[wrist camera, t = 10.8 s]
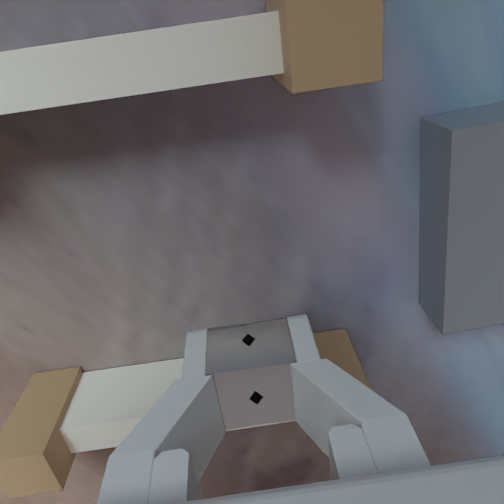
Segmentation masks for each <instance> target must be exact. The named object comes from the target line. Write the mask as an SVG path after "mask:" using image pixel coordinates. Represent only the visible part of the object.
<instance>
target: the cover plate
mask: <svg viewBox="0 0 504 504" xmlns="http://www.w3.org/2000/svg"><path fill="white" fill-rule="evenodd" d="M419 303H420V304H421V306H422V307H423V308H424V310H425V311H426V312H427V314H428V315H429V317H430V318H431V319H432V321H433V322H434V323H435V325H436V326H437V327H438V329H439V330H440V331H441V333H442V334H449V333H454V332H460V331H465V330H471V329H476V328H482V327H487V326H493V325H498V324H504V101H503V102H498V103H493V104H488V105H483V106H478V107H472V108H467V109H462V110H457V111H452V112H447V113H442V114H437V115H432V116H427V117H421V128H420V233H419Z"/></svg>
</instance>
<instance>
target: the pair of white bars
mask: <svg viewBox="0 0 504 504" xmlns="http://www.w3.org/2000/svg"><path fill="white" fill-rule="evenodd" d="M383 4H384V0H268V1H267V2H266V3H265V5H266V12H265V13H258V14H252V15H245V16H238V17H231V18H225V19H218V20H211V21H204V22H198V23H191V24H184V25H177V26H171V27H164V28H157V29H150V30H144V31H137V32H130V33H123V34H117V35H110V36H103V37H96V38H90V39H83V40H76V41H69V42H63V43H56V44H49V45H42V46H36V47H29V48H22V49H15V50H9V51H2V52H0V115H3V114H10V113H17V112H24V111H30V110H37V109H44V108H51V107H58V106H64V105H71V104H78V103H85V102H92V101H98V100H105V99H112V98H119V97H125V96H132V95H139V94H146V93H153V92H159V91H166V90H173V89H180V88H186V87H193V86H200V85H207V84H214V83H220V82H227V81H234V80H241V79H248V78H254V77H261V76H268V75H273V78H274V79H275V80H276V81H278V82H279V83H280V84H281V85H283V86H284V87H285V88H286V89H288V90H289V91H290V92H291V93H292V94H294V93H301V92H308V91H315V90H321V89H328V88H335V87H342V86H349V85H355V84H362V83H369V82H376V81H382V75H383ZM313 335H314V339H315V342H316V345H317V348H318V351H319V355H320V358H321V359H328V360H330V361H331V362H333V363H334V364H336V365H337V366H338V367H340V368H341V369H343V370H344V371H345V372H347V373H348V374H350V375H351V376H353V377H354V378H355V379H357V380H358V381H360V382H361V383H362V384H364V385H365V386H367V387H368V388H369V389H371V388H370V386H369V384H368V381H367V379H366V376H365V374H364V372H363V369H362V367H361V365H360V362H359V360H358V357H357V355H356V353H355V350H354V348H353V345H352V343H351V341H350V338H349V336H348V334H347V331H346V329H338V330H331V331H324V332H317V333H313ZM183 362H184V358H180V359H173V360H166V361H159V362H152V363H145V364H138V365H131V366H124V367H117V368H110V369H103V370H96V371H89V372H82V369H81V367H74V368H67V369H60V370H53V371H46V372H39V373H34V374H33V375H32V377H31V379H30V381H29V383H28V384H27V386H26V388H25V390H24V391H23V393H22V395H21V397H20V399H19V400H18V402H17V404H16V406H15V407H14V409H13V411H12V413H11V415H10V416H9V418H8V420H7V422H6V423H5V425H4V427H3V429H2V431H1V432H0V488H1V489H2V491H3V492H4V494H5V495H6V497H7V498H14V497H21V496H28V495H35V494H42V493H49V492H56V491H63V489H64V486H65V483H66V480H67V477H68V474H69V472H70V469H71V466H72V463H73V460H74V457H75V455H76V453H77V452H84V451H91V450H98V449H105V448H112V447H118V446H119V445H120V444H121V442H122V441H123V440H124V439H125V438H126V437H127V436H128V434H129V433H130V432H131V431H132V430H133V429H134V427H135V426H136V425H137V424H138V423H139V422H140V421H141V419H142V418H143V417H144V416H145V415H146V414H147V413H148V411H149V410H150V409H151V408H152V407H153V406H154V405H155V403H156V402H157V401H158V400H159V399H160V398H161V397H162V395H163V394H164V393H165V392H166V391H167V390H168V389H169V387H170V386H171V385H172V384H173V383H174V382H175V381H176V380H180V379H182V372H183ZM295 421H296V420H295ZM287 422H294V421H286V422H277V423H269V424H261V423H260V425H255V426H249V427H243V428H237V429H231V430H238V429H245V428H252V427H259V426H266V425H273V424H280V423H287ZM231 430H226V431H231ZM321 453H324V452H323V451H322V450H321Z"/></svg>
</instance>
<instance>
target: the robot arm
mask: <svg viewBox="0 0 504 504" xmlns="http://www.w3.org/2000/svg"><path fill="white" fill-rule="evenodd" d="M295 420H296V422H297V423H298V425H299V426H300V427H301V428H302V429H303V430H304V431H305V432H306V433H307V434H308V436H309V437H310V438H311V439H312V440H313V441H314V442H315V443H316V444H317V445H318V447H319V448H320V449H321V450H322V451H323V452H324V453H325V454H326V455H327V456H328V458H329V467H330V480H329V481H323V482H316V483H309V484H302V485H295V486H288V487H281V488H275V489H268V490H261V491H254V492H247V493H240V494H233V495H226V496H220V497H213V498H206V499H203V498H202V494H201V491H200V488H199V485H198V483H199V481H200V479H201V478H202V476H203V474H204V472H205V470H206V468H207V466H208V465H209V463H210V461H211V459H212V457H213V455H214V453H215V452H216V450H217V448H218V446H219V444H220V442H221V441H222V439H223V437H224V435H225V433H226V432H225V431H226V430H231V429H237V428H243V427H249V426H255V425H260V423H261V424H269V423H277V422H286V421H295ZM97 504H504V455H501V456H494V457H487V458H480V459H473V460H466V461H460V462H453V463H446V464H439V465H432V466H431V464H430V462H429V460H428V458H427V456H426V454H425V452H424V450H423V448H422V446H421V444H420V442H419V439H418V437H417V435H416V433H415V431H414V429H413V427H412V425H411V423H410V421H409V419H408V417H407V415H406V414H405V413H403V412H402V411H401V410H399V409H398V408H396V407H395V406H394V405H392V404H391V403H389V402H388V401H386V400H385V399H384V398H382V397H381V396H379V395H378V394H377V393H375V392H374V391H372V390H371V389H369V388H368V387H367V386H365V385H364V384H362V383H361V382H360V381H358V380H357V379H355V378H354V377H353V376H351V375H350V374H348V373H347V372H345V371H344V370H343V369H341V368H340V367H338V366H337V365H336V364H334V363H333V362H331V361H330V360H328V359H321V358H320V355H319V351H318V348H317V345H316V342H315V339H314V335H313V332H312V329H311V326H310V323H309V319H308V316H307V315H306V314H303V315H297V316H291V317H286V318H282V319H275V320H268V321H261V322H255V323H248V324H238V325H230V326H222V327H213V328H208V329H199V330H191V331H188V332H187V334H186V341H185V351H184V362H183V372H182V379H180V380H176V381H175V382H174V383H173V384H172V385H171V386H170V387H169V389H168V390H167V391H166V392H165V393H164V394H163V395H162V397H161V398H160V399H159V400H158V401H157V402H156V403H155V405H154V406H153V407H152V408H151V409H150V410H149V411H148V413H147V414H146V415H145V416H144V417H143V418H142V419H141V421H140V422H139V423H138V424H137V425H136V426H135V427H134V429H133V430H132V431H131V432H130V433H129V434H128V436H127V437H126V438H125V439H124V440H123V441H122V442H121V444H120V445H119V446H118V447H117V448H116V449H115V450H114V452H113V453H112V454H111V455H110V456H109V458H108V462H107V466H106V470H105V474H104V478H103V482H102V486H101V490H100V494H99V498H98V502H97Z"/></svg>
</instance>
